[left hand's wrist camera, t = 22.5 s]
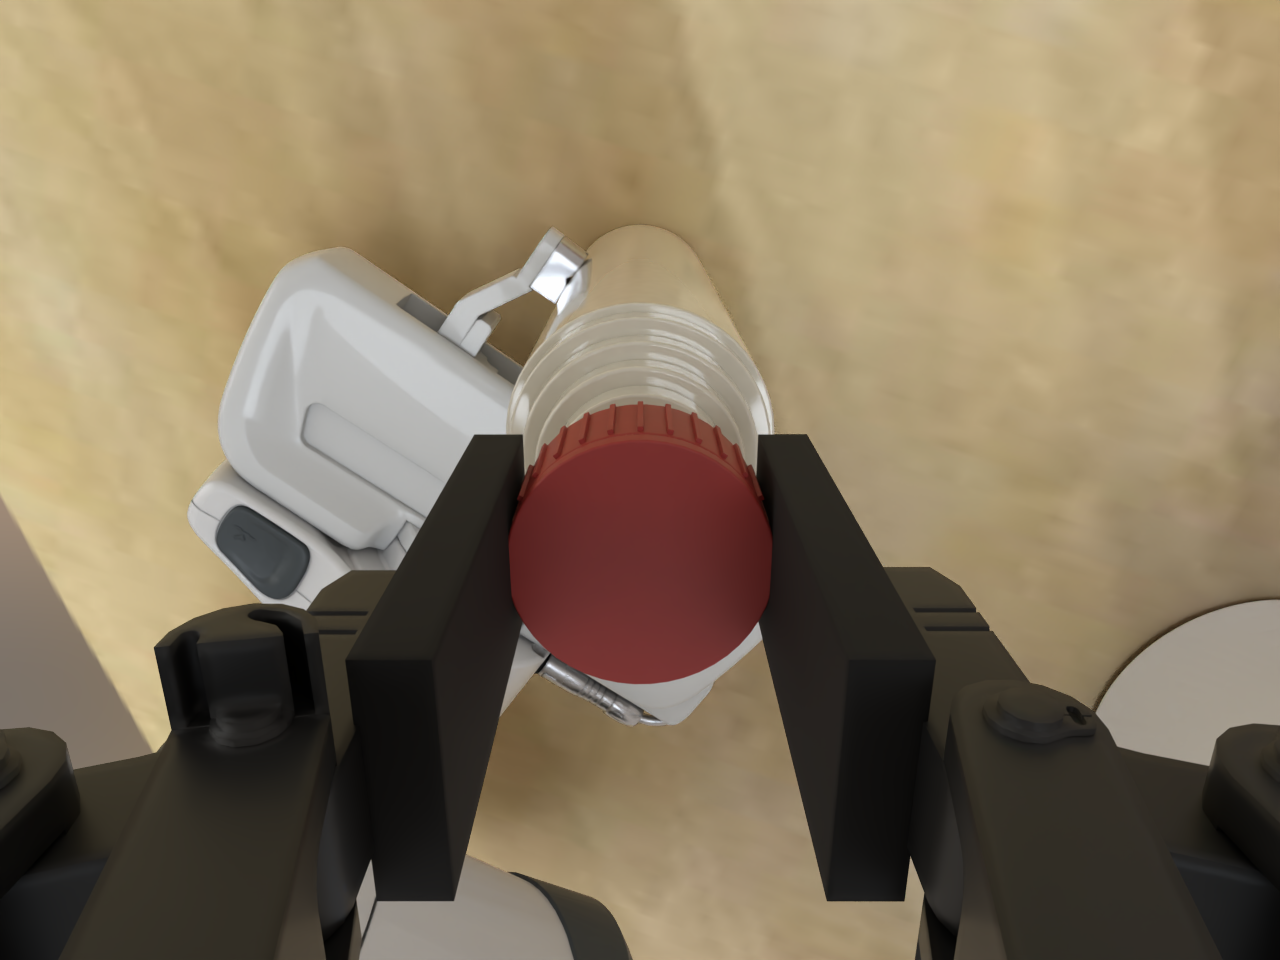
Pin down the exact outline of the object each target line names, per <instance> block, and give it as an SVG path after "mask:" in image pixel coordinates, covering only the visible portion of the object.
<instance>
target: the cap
mask: <svg viewBox="0 0 1280 960" xmlns="http://www.w3.org/2000/svg"><path fill="white" fill-rule="evenodd" d="M517 500H518V501H519V502H518V505H517V508H516V511H515V514H514V517H513V520H512V525H511V528H510V532H509V560H510V578H511V595H512V600H513V603H514V606H515V608H516V610H517V612H518V614H519V616H520V618H521V619H522V621H523V623H524V624H525V626H526V627H527V628H528V630H529V631H530V633H531V634H532V635H533V637H534V638H535V639H536V640H537V641H538V642H539V643H540V644H541V645H542V646H543V647H544V648H545V649H546V650H548V651H549V652H550V653H551V654H552V655H554V656H555V657H556V658H558V659H559V660H561V661H562V662H564V663H565V664H567V665H569V666H570V667H572V668H574V669H576V670H579V671H581V672H583V673H585V674H588V675H590V676H593V677H596V678H599V679H603V680H608V681H612V682H617V683H626V684H656V683H663V682H669V681H674V680H678V679H682V678H685V677H688V676H691V675H693V674H696V673H699V672H701V671H703V670H705V669H707V668H709V667H711V666H713V665H714V664H716V663H717V662H719V661H720V660H722V659H723V658H725V657H726V656H728V655H729V654H730V653H731V652H732V651H733V650H735V649H736V648H737V647H738V646H739V645H740V644H741V643H742V642H743V641H744V640H745V639H746V637H747V636H748V635H749V634H750V633H751V632H752V630H753V629H754V627H755V626H756V624H757V623H758V621H759V620H760V618H761V616H762V614H763V612H764V610H765V608H766V606H767V604H768V601H769V596H770V580H771V562H772V543H773V536H772V532H771V528H770V525H769V520H768V517H767V514H766V511H765V508H764V505H763V502H762V500H764V497H763V494H762V491H761V488H760V486H759V483H758V480H757V477H756V474H755V471H754V469H753V466H752V465H751V464H750V465H747V464H746V462H745V460H744V459H743V456H742V453H741V450H740V447H739V445H738V444H737V443H735V444H734V445H733V444H732V443H731V442H730V441H729V440H728V439H727V438H726V437H725V436H724V435H723V434H722V432H721V429H720V427H718V426H717V425H716V426H715V427H712V426H711V425H710V424H708V423H706V422H704V421H703V420H701V419H699V418H698V416H697V413H694V412H692V413H691V414H688V413H685V412H683V411H680V410H677V409H673V408H671V405H670V404H665V407H664V406H657V405H648V404H643V401H638V404H636V405H624V406H617V407H616V405H615V404H611V405H610V408H608V409H605V410H601V411H598V412H595V413H593V414H591V415H590V414H589V412H587V413H585V414H584V415H583V418H582V419H580V420H578V421H577V422H575V423H573V424H572V425H570V426H569V427H566V426H565V425H564V426H563V427H561V429H560V432H559V434H558V435H557V436H556V437H555V438H554V439H553V440H552V441H551V442H550V443H549V444H548V445H547V444H546V443H544V444H543V446H542V447H541V450H540V453H539V456H538V458H537V460H536V462H535V464H534V466H532V465H529V467H528V469H527V472H526V474H525V477H524V480H523V483H522V486H521V489H520V492H519V494H518V497H517Z"/></svg>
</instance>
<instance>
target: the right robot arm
mask: <svg viewBox="0 0 1280 960" xmlns="http://www.w3.org/2000/svg"><path fill="white" fill-rule="evenodd" d="M588 254H589V253H588V252H587V251H585V250H584V249H583V248H581V247H580V246H579V245H577V244H576V243H575V242H573V241H572V240H571V239H569V238H568V237H567V236H565V235H564V234H563V233H561V232H560V231H559V230H557V229H556V228H554V227H553V226H552V227H551V228H550V229H549V230H548V231H547V233H546V234H545V236H544V237H543V238H542V240H541V241H540V242H539V244H538V245H537V247H536V249H535V250H534V252H533V253H532V255H531V256H530V258H529V259H528V261H527V262H526V264H525V265H524V267H523V268H522V269H520V268H519V269H517V270H515V271H513V272H511V273H508V274H506V275H504V276H502V277H500V278H498V279H496V280H494V281H491V282H489V283H487V284H485V285H483V286H481V287H479V288H476V289H474V290H472V291H470V292H468V293H467V294H466V295H465V296H464V297H463V298H461V299H460V300H459V301H458V302H457V303H456V305H455V306H454V308H453V309H452V311H451V312H450V314H449V315H447V314H446V313H444V312H443V311H441V310H440V309H438V308H437V307H436V306H434V305H433V304H431V303H430V302H428V301H427V300H425V299H424V298H422V297H421V296H419V295H418V294H417V293H415V292H414V291H412V290H411V289H409V288H408V287H406V286H405V285H403V284H402V283H400V282H399V281H398V280H396V279H395V278H393V277H392V276H390V275H389V274H387V273H386V272H384V271H383V270H381V269H380V268H379V267H377V266H376V265H374V264H373V263H371V262H370V261H368V260H367V259H366V258H364V257H363V256H361V255H360V254H358V253H357V252H355V251H354V250H352V249H350V248H347V247H335V248H329V249H323V250H318V251H314V252H310V253H307V254H304V255H301V256H299V257H297V258H295V259H293V260H292V261H290V262H288V263H287V264H286V265H285V266H284V267H283V268H282V269H281V270H280V271H279V273H278V274H277V275H276V277H275V278H274V280H273V282H272V283H271V285H270V287H269V289H268V290H267V292H266V294H265V296H264V298H263V300H262V302H261V304H260V306H259V308H258V310H257V312H256V314H255V316H254V318H253V320H252V322H251V324H250V326H249V329H248V331H247V333H246V335H245V338H244V340H243V342H242V345H241V347H240V349H239V352H238V354H237V357H236V359H235V362H234V364H233V367H232V370H231V372H230V375H229V378H228V381H227V383H226V386H225V389H224V392H223V396H222V399H221V403H220V408H219V414H218V435H219V440H220V444H221V447H222V450H223V452H224V454H225V456H226V459H225V460H224V461H223V462H222V463H221V464H220V465H219V466H218V467H217V468H216V469H215V470H214V471H213V472H212V473H211V475H210V476H209V477H208V478H207V480H206V481H205V482H204V483H203V485H202V486H201V487H200V488H199V490H198V491H197V493H196V494H195V495H194V497H193V499H192V501H191V503H190V505H189V507H188V512H187V517H188V521H189V524H190V526H191V527H192V529H193V531H194V532H195V533H196V534H197V536H198V537H199V538H200V539H201V540H202V541H203V542H204V543H205V544H206V545H207V546H208V547H209V548H210V549H211V550H212V551H213V552H214V553H215V554H216V555H217V556H218V557H219V558H220V559H221V560H222V561H223V562H224V563H225V564H226V565H227V566H228V567H229V568H230V569H231V571H232V572H233V573H234V574H235V575H236V576H237V577H238V578H239V579H240V580H241V581H242V582H243V583H244V584H245V585H246V586H247V587H248V588H249V589H250V590H251V592H252V593H253V594H254V595H255V596H256V597H257V598H258V599H259V600H260V602H261V603H262V604H285V605H289V606H294V607H298V608H302V609H304V610H307V609H308V607H309V606H310V604H311V603H312V602H313V600H314V599H315V598H316V596H317V595H318V593H319V592H320V591H321V589H323V588H324V587H326V586H327V585H329V584H330V583H332V582H334V581H335V580H337V579H338V578H340V577H342V576H343V575H345V574H346V573H348V572H349V571H351V570H397V568H398V567H399V565H400V563H401V561H402V560H403V558H404V556H405V554H406V553H407V551H408V549H409V547H410V546H411V544H412V542H413V540H414V539H415V537H416V535H417V534H418V532H419V530H420V528H421V527H422V525H423V523H424V521H425V520H426V518H427V516H428V514H429V513H430V511H431V509H432V507H433V506H434V504H435V502H436V500H437V499H438V497H439V495H440V493H441V492H442V490H443V488H444V486H445V485H446V483H447V481H448V479H449V478H450V476H451V474H452V472H453V471H454V469H455V467H456V465H457V464H458V462H459V460H460V458H461V457H462V455H463V453H464V452H465V450H466V448H467V446H468V445H469V443H470V441H471V439H472V438H473V436H474V434H506V421H507V411H508V406H509V402H510V398H511V394H512V391H513V389H514V386H515V384H516V381H517V379H518V376H519V375H520V373H521V371H522V369H523V366H522V365H520V364H519V363H517V362H516V361H514V360H513V359H511V358H510V357H508V356H507V355H505V354H504V353H503V352H501V351H500V350H498V349H497V348H495V347H494V346H492V345H491V344H489V343H488V342H487V340H488V338H489V337H490V335H491V334H492V332H493V331H494V329H495V328H496V326H497V324H498V323H499V321H500V320H501V316H500V314H499V313H497V312H496V311H494V310H493V309H495V308H497V307H499V306H501V305H503V304H505V303H507V302H509V301H512V300H514V299H516V298H518V297H520V296H522V295H524V294H526V293H528V292H530V291H532V290H533V289H534V290H535V291H537V292H538V293H540V294H541V295H543V296H544V297H545V298H547V299H548V300H550V301H551V302H553V303H554V304H555V303H556V302H557V300H558V299H559V297H560V296H561V294H562V293H563V291H564V289H565V287H566V286H567V284H568V282H569V280H570V278H571V276H573V275H574V274H575V273H576V272H577V271H578V270H579V268H580V267H581V265H582V264H583V262H584V261H585V259H586V258H587V256H588ZM761 640H762V635H761V631H760V627H759V622H758V623H757V624H756V626H755V627H754V629H753V630H752V632H751V633H750V634H749V635H748V636H747V637H746V639H745V640H744V641H743V642H742V643H741V644H740V645H739V646H738V647H737V648H736V649H735V650H733V651H732V652H731V653H730V654H729V655H728V656H726V657H725V658H723V659H722V660H720V661H719V662H717V663H716V664H714V665H713V666H711V667H709V668H707V669H705V670H703V671H701V672H699V673H696V674H693V675H691V676H688V677H685V678H682V679H678V680H674V681H669V682H663V683H656V684H626V683H617V682H612V681H608V680H603V679H599V678H596V677H593V676H590V675H588V674H585V673H583V672H581V671H579V670H576V669H574V668H572V667H570V666H569V665H567V664H565V663H564V662H562V661H561V660H559V659H558V658H556V657H555V656H554V655H552V654H551V653H550V652H549V651H548V650H546V649H545V648H544V647H543V646H542V645H541V644H540V643H539V642H538V641H537V640H536V639H535V638H534V637H533V635H532V634H531V633H530V631H529V630H528V628H527V627H526V626H525V624H524V623H522V627H521V631H520V635H519V639H518V643H517V647H516V651H515V655H514V659H513V663H512V668H511V672H510V676H509V680H508V684H507V688H506V692H505V696H504V700H503V704H502V708H501V712H500V716H501V715H502V714H503V712H504V711H505V710H506V709H507V707H508V706H509V705H510V703H511V702H512V701H513V700H514V698H515V697H516V696H517V694H518V693H519V692H520V691H521V690H522V688H523V687H524V686H525V684H526V683H527V682H528V681H529V679H530V678H531V677H532V676H533V674H535V673H537V674H538V675H540V676H542V677H543V678H545V679H547V680H548V681H550V682H552V683H553V684H555V685H557V686H558V687H560V688H562V689H563V690H565V691H567V692H569V693H571V694H573V695H574V696H577V697H579V698H582V699H584V700H586V701H589V702H590V703H592V704H594V705H595V706H597V707H598V708H600V709H601V710H602V711H603V713H604V714H606V715H607V716H608V717H610V718H611V719H613V720H615V721H616V722H618V723H621V724H623V725H626V726H629V727H634V726H635V725H636V724H637V723H641V724H645V725H649V726H664V725H676V724H678V723H680V722H682V721H683V720H684V719H686V718H687V717H688V716H689V715H690V714H691V713H692V711H693V710H694V709H695V708H696V707H697V706H698V705H699V704H700V702H701V701H702V700H703V699H704V698H705V697H706V696H707V694H708V693H709V692H710V690H711V688H712V686H713V685H714V683H715V680H717V679H718V678H719V677H720V676H722V675H723V674H724V673H725V672H726V671H728V670H729V669H730V668H731V667H733V666H734V665H735V664H736V663H737V662H738V661H739V660H741V659H742V658H743V657H744V656H745V655H746V654H747V653H748V652H750V651H751V650H752V649H753V648H754V647H755V646H756V645H757V644H758V643H759V642H760V641H761ZM644 710H645V711H646V712H648V713H650V714H651V715H648V714H645V713H643V712H644ZM1096 714H1097V716H1098V717H1099V718H1100V719H1101V721H1102V722H1103V723H1104V724H1105V725H1106V727H1107V728H1108V729H1109V731H1110V733H1111V735H1112V737H1113V739H1114V741H1115V743H1116V745H1117V746H1118V747H1121V748H1125V749H1129V750H1133V751H1137V752H1141V753H1145V754H1150V755H1156V756H1161V757H1166V758H1171V759H1176V760H1181V761H1187V762H1192V763H1197V764H1202V765H1207V766H1209V765H1210V761H1211V757H1212V754H1213V750H1214V746H1215V742H1216V739H1217V738H1218V737H1219V736H1220V735H1221V734H1223V733H1224V732H1225V731H1226V730H1227V729H1229V728H1231V727H1236V726H1241V725H1247V724H1252V723H1257V724H1269V725H1280V600H1262V601H1254V602H1247V603H1242V604H1237V605H1233V606H1229V607H1225V608H1222V609H1219V610H1216V611H1213V612H1210V613H1207V614H1205V615H1202V616H1200V617H1197V618H1195V619H1193V620H1191V621H1189V622H1187V623H1185V624H1183V625H1181V626H1179V627H1177V628H1175V629H1174V630H1172V631H1170V632H1169V633H1167V634H1166V635H1164V636H1162V637H1161V638H1160V639H1158V640H1157V641H1155V642H1154V643H1152V644H1151V645H1150V646H1149V647H1147V648H1146V649H1145V650H1144V651H1142V652H1141V653H1140V654H1139V655H1138V656H1137V657H1136V658H1135V659H1134V660H1133V661H1132V662H1131V663H1130V664H1129V665H1128V666H1127V667H1126V668H1125V669H1124V670H1123V671H1122V672H1121V673H1120V675H1119V676H1118V677H1117V678H1116V680H1115V681H1114V682H1113V684H1112V685H1111V686H1110V688H1109V689H1108V691H1107V692H1106V694H1105V696H1104V697H1103V699H1102V701H1101V702H1100V704H1099V706H1098V709H1097V711H1096ZM500 716H499V717H500ZM165 743H166V742H165ZM165 743H164V744H163V745H162V746H161V747H160V749H159V750H158V751H157V752H160V751H162V749H163V747H164V745H165ZM356 900H357V907H358V914H359V921H360V928H361V936H362V940H361V948H360V956H359V960H633V959H632V957H631V954H630V951H629V948H628V946H627V944H626V942H625V939H624V937H623V935H622V933H621V930H620V928H619V926H618V924H617V922H616V920H615V919H614V917H613V916H612V914H611V913H610V911H609V910H608V909H607V908H606V907H605V906H604V905H603V904H602V903H600V902H599V901H598V900H596V899H594V898H592V897H589V896H586V895H583V894H580V893H577V892H574V891H571V890H568V889H565V888H562V887H559V886H556V885H553V884H550V883H547V882H544V881H540V880H537V879H534V878H531V877H528V876H525V875H522V874H519V873H516V872H506V871H504V870H501V869H499V868H497V867H494V866H492V865H490V864H488V863H485V862H483V861H481V860H479V859H476V858H474V857H472V856H469V855H467V854H466V855H465V859H464V863H463V867H462V871H461V875H460V879H459V883H458V888H457V892H456V896H455V900H454V901H377V899H376V891H375V884H374V876H373V869H372V861H370V863H369V866H368V869H367V871H366V874H365V877H364V879H363V882H362V885H361V887H360V890H359V893H358V895H357V898H356Z"/></svg>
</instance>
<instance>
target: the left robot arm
mask: <svg viewBox="0 0 1280 960" xmlns="http://www.w3.org/2000/svg"><path fill="white" fill-rule="evenodd" d="M524 477H525V468H524V447H523V434H474V436H473V438H472V439H471V441H470V443H469V445H468V446H467V448H466V450H465V452H464V453H463V455H462V457H461V458H460V460H459V462H458V464H457V465H456V467H455V469H454V471H453V472H452V474H451V476H450V478H449V479H448V481H447V483H446V485H445V486H444V488H443V490H442V492H441V493H440V495H439V497H438V499H437V500H436V502H435V504H434V506H433V507H432V509H431V511H430V513H429V514H428V516H427V518H426V520H425V521H424V523H423V525H422V527H421V528H420V530H419V532H418V534H417V535H416V537H415V539H414V540H413V542H412V544H411V546H410V547H409V549H408V551H407V553H406V554H405V556H404V558H403V560H402V561H401V563H400V565H399V567H398V568H397V570H351V571H349V572H348V573H346V574H345V575H343V576H342V577H340V578H338V579H337V580H335V581H334V582H332V583H330V584H329V585H327V586H326V587H324V588H323V589H321V591H320V592H319V593H318V595H317V596H316V598H315V599H314V600H313V602H312V603H311V604H310V606H309V607H308V609H307V610H304V609H302V608H298V607H294V606H289V605H285V604H255V603H254V604H248V605H242V606H236V607H230V608H223V609H220V610H217V611H214V612H211V613H208V614H205V615H202V616H199V617H196V618H193V619H192V620H190V621H188V622H186V623H184V624H182V625H181V626H179V627H177V628H175V629H173V630H172V631H170V632H169V633H168V634H167V635H166V636H165V637H164V638H163V639H162V640H161V641H160V642H159V643H158V644H157V645H156V646H155V647H154V651H155V655H156V660H157V665H158V669H159V674H160V678H161V683H162V688H163V692H164V697H165V702H166V706H167V711H168V716H169V720H170V725H171V729H172V731H171V733H170V735H169V737H168V739H167V741H166V743H165V745H164V747H163V749H162V751H160V752H156V753H152V754H148V755H145V756H141V757H136V758H131V759H126V760H121V761H116V762H111V763H105V764H100V765H96V766H90V767H85V768H80V769H75V770H73V767H72V763H71V760H70V756H69V752H68V748H67V745H66V742H64V741H63V740H62V739H61V738H60V737H58V736H57V735H56V734H55V733H54V732H51V731H46V730H40V729H35V728H30V727H27V728H15V729H2V730H1V729H0V960H359V956H360V948H361V940H362V936H361V928H360V921H359V914H358V907H357V900H356V898H357V895H358V893H359V890H360V887H361V885H362V882H363V879H364V877H365V874H366V871H367V869H368V866H369V863H370V861H372V869H373V876H374V884H375V891H376V899H377V901H454V900H455V896H456V892H457V888H458V883H459V879H460V875H461V871H462V867H463V863H464V859H465V855H466V851H467V847H468V843H469V839H470V835H471V830H472V826H473V822H474V818H475V814H476V810H477V806H478V802H479V798H480V794H481V790H482V786H483V782H484V778H485V773H486V769H487V765H488V761H489V757H490V753H491V749H492V745H493V741H494V737H495V733H496V729H497V725H498V720H499V716H500V712H501V708H502V704H503V700H504V696H505V692H506V688H507V684H508V680H509V676H510V672H511V668H512V663H513V659H514V655H515V651H516V647H517V643H518V639H519V635H520V631H521V627H522V623H523V621H522V619H521V618H520V616H519V614H518V612H517V610H516V608H515V606H514V603H513V600H512V595H511V578H510V560H509V532H510V528H511V525H512V520H513V517H514V514H515V511H516V508H517V505H518V502H519V501H518V500H517V497H518V494H519V492H520V489H521V486H522V483H523V480H524ZM756 477H757V480H758V483H759V486H760V488H761V491H762V494H763V497H764V500H762V502H763V505H764V508H765V511H766V514H767V517H768V520H769V525H770V528H771V532H772V536H773V543H772V562H771V580H770V596H769V601H768V604H767V606H766V608H765V610H764V612H763V614H762V616H761V618H760V620H759V621H758V622H759V627H760V631H761V635H762V639H763V643H764V647H765V651H766V655H767V659H768V663H769V667H770V671H771V675H772V679H773V684H774V688H775V692H776V696H777V700H778V704H779V708H780V712H781V716H782V720H783V724H784V728H785V732H786V736H787V741H788V745H789V749H790V753H791V757H792V761H793V765H794V769H795V773H796V777H797V781H798V785H799V789H800V793H801V797H802V802H803V806H804V810H805V814H806V818H807V822H808V826H809V830H810V834H811V838H812V842H813V846H814V850H815V854H816V859H817V863H818V867H819V871H820V875H821V879H822V883H823V887H824V891H825V895H826V899H827V901H904V900H905V892H906V885H907V877H908V869H909V862H910V856H911V858H912V861H913V864H914V866H915V869H916V871H917V874H918V877H919V879H920V882H921V885H922V887H923V890H924V900H923V907H922V914H921V921H920V928H919V935H918V942H917V949H916V956H915V960H1280V725H1269V724H1257V723H1252V724H1247V725H1241V726H1236V727H1231V728H1229V729H1227V730H1226V731H1225V732H1224V733H1223V734H1221V735H1220V736H1219V737H1218V738H1217V739H1216V742H1215V746H1214V750H1213V754H1212V757H1211V761H1210V765H1209V766H1207V765H1202V764H1197V763H1192V762H1187V761H1181V760H1176V759H1171V758H1166V757H1161V756H1156V755H1150V754H1145V753H1141V752H1137V751H1133V750H1129V749H1125V748H1121V747H1118V746H1117V745H1116V743H1115V741H1114V739H1113V737H1112V735H1111V733H1110V731H1109V729H1108V728H1107V727H1106V725H1105V724H1104V723H1103V722H1102V721H1101V719H1100V718H1099V717H1098V716H1097V714H1096V713H1095V712H1094V711H1092V710H1091V709H1089V708H1088V707H1086V706H1085V705H1083V704H1082V703H1080V702H1079V701H1077V700H1076V699H1074V698H1073V697H1071V696H1068V695H1066V694H1063V693H1061V692H1058V691H1056V690H1053V689H1050V688H1048V687H1045V686H1043V685H1038V684H1032V683H1030V682H1029V681H1028V679H1027V678H1026V676H1025V675H1024V674H1023V672H1022V671H1021V670H1020V668H1019V667H1018V665H1017V664H1016V663H1015V661H1014V660H1013V658H1012V657H1011V656H1010V654H1009V653H1008V652H1007V650H1006V649H1005V647H1004V646H1003V645H1002V643H1001V642H1000V641H999V639H998V638H997V636H996V635H995V634H994V632H993V631H990V630H989V625H988V624H987V623H986V621H985V620H984V618H983V617H982V616H981V614H980V613H976V607H975V606H974V605H973V603H972V602H971V600H970V599H969V598H968V596H967V595H966V594H965V592H964V591H963V589H962V588H961V587H960V586H959V585H958V584H956V583H954V582H953V581H951V580H950V579H948V578H946V577H945V576H943V575H942V574H940V573H938V572H937V571H935V570H934V569H932V568H930V567H883V566H882V565H881V563H880V561H879V559H878V558H877V556H876V554H875V552H874V551H873V549H872V547H871V545H870V544H869V542H868V540H867V538H866V537H865V535H864V533H863V531H862V530H861V528H860V526H859V524H858V523H857V521H856V519H855V518H854V516H853V514H852V512H851V511H850V509H849V507H848V505H847V504H846V502H845V500H844V498H843V497H842V495H841V493H840V491H839V490H838V488H837V486H836V484H835V483H834V481H833V479H832V477H831V476H830V474H829V472H828V470H827V469H826V467H825V465H824V463H823V462H822V460H821V458H820V457H819V455H818V453H817V451H816V450H815V448H814V446H813V444H812V443H811V441H810V439H809V437H808V436H807V434H758V449H757V470H756Z"/></svg>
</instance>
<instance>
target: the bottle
mask: <svg viewBox="0 0 1280 960" xmlns="http://www.w3.org/2000/svg"><path fill="white" fill-rule="evenodd" d="M586 251H587V252H588V253H589V254H588V256H587V258H586V259H585V261H584V262H583V264H582V265H581V267H580V268H579V270H578V271H577V272H576V273H575V274H574V275H573V276H571V278H570V280H569V282H568V284H567V286H566V287H565V289H564V291H563V293H562V295H561V297H560V298H559V300H558V302H557V304H556V306H555V308H554V310H553V312H552V314H551V316H550V317H549V319H548V321H547V323H546V325H545V327H544V329H543V331H542V333H541V335H540V336H539V338H538V340H537V342H536V344H535V346H534V348H533V350H532V352H531V354H530V356H529V357H528V359H527V361H526V363H525V365H524V367H523V369H522V371H521V373H520V375H519V376H518V379H517V381H516V384H515V386H514V389H513V391H512V394H511V398H510V402H509V406H508V411H507V421H506V434H523V447H524V468H525V474H526V472H527V469H528V467H529V465H532V466H534V464H535V462H536V460H537V458H538V456H539V453H540V450H541V447H542V446H543V444H544V443H546V444H547V445H548V444H549V443H550V442H551V441H552V440H553V439H554V438H555V437H556V436H557V435H558V434H559V432H560V429H561V427H563V426H564V425H565V426H566V427H569V426H570V425H572V424H573V423H575V422H577V421H578V420H580V419H582V418H583V415H584V414H585V413H587V412H589V414H590V415H591V414H593V413H595V412H598V411H601V410H605V409H608V408H610V405H611V404H615V405H616V407H617V406H624V405H636V404H638V401H643V404H648V405H657V406H664V407H665V404H670V405H671V408H673V409H677V410H680V411H683V412H685V413H688V414H691V413H692V412H694V413H697V416H698V418H699V419H701V420H703V421H704V422H706V423H708V424H710V425H711V426H712V427H715V426H716V425H717V426H718V427H720V429H721V432H722V434H723V435H724V436H725V437H726V438H727V439H728V440H729V441H730V442H731V443H732V444H733V445H734V444H735V443H737V444H738V445H739V447H740V450H741V453H742V456H743V459H744V460H745V462H746V464H747V465H750V464H751V465H752V466H753V469H754V471H755V474H756V470H757V449H758V434H774V433H775V430H774V415H773V410H772V405H771V400H770V396H769V393H768V391H767V388H766V385H765V382H764V380H763V378H762V376H761V374H760V372H759V370H758V368H757V366H756V364H755V363H754V361H753V359H752V357H751V355H750V353H749V351H748V349H747V348H746V346H745V344H744V342H743V340H742V338H741V336H740V334H739V333H738V331H737V329H736V327H735V325H734V323H733V321H732V319H731V317H730V316H729V314H728V312H727V310H726V308H725V306H724V304H723V302H722V301H721V299H720V297H719V295H718V293H717V291H716V289H715V287H714V286H713V284H712V282H711V280H710V278H709V276H708V274H707V272H706V270H705V269H704V267H703V265H702V263H701V261H700V259H699V258H698V256H697V255H696V253H695V252H694V250H693V249H692V248H691V247H690V246H689V245H688V244H687V243H686V242H685V241H684V240H682V239H681V238H680V237H678V236H677V235H675V234H674V233H672V232H670V231H667V230H665V229H663V228H659V227H656V226H650V225H629V226H624V227H620V228H617V229H615V230H612V231H610V232H608V233H606V234H605V235H603V236H601V237H600V238H599V239H597V240H596V241H595V242H594V243H593V244H592V245H591V246H590V247H589V248H588V249H587V250H586Z"/></svg>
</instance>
